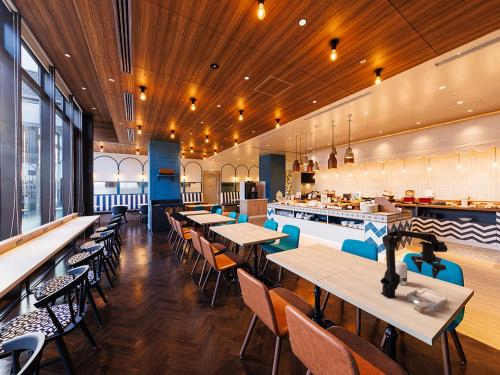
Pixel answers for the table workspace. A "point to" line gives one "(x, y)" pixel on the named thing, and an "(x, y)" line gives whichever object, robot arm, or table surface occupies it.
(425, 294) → the tray
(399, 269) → the supplement can
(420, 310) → the pedestal
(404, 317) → the table surface
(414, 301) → the disc
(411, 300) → the housing
